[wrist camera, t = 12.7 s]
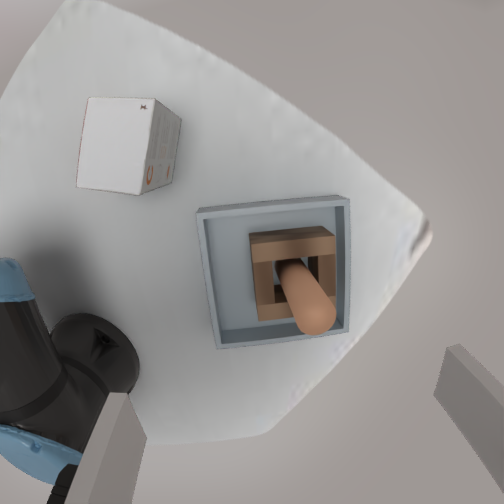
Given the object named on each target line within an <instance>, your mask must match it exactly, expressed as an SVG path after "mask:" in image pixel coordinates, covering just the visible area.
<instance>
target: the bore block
mask: <svg viewBox="0 0 504 504" xmlns="http://www.w3.org/2000/svg"><path fill="white" fill-rule="evenodd" d="M249 242H250V253H251V263H252V273H253V283H254V293H255V302H256V309H257V315H258V321H267V320H276V319H284V318H292V317H294V316H293V313H292V311H291V308H290V306H289V303H288V301H287V298H286V296H285V293H284V291H283V288H282V286H281V284H278V285H274V282H273V268H272V261H274V260H284V259H293V258H302V257H308V269H309V271H310V272H311V274H312V275H313V276H314V278H315V279H316V281H317V282H318V284H319V285H320V286H321V288H322V289H323V291H324V292H325V294H326V295H327V297H328V298H329V299H330V301H331V302H332V304H333V305H334V307H335V309H336V241H335V235H334V234H332V233H331V232H330V231H328V230H327V229H326V228H324V227H323V226H312V227H302V228H292V229H282V230H272V231H262V232H252V233H249Z"/></svg>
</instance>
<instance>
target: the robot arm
mask: <svg viewBox="0 0 504 504" xmlns="http://www.w3.org/2000/svg"><path fill="white" fill-rule="evenodd" d="M138 375H139V361H138V357H137V354H136V352H135V349H134V348H133V346H132V344H131V343H130V341H129V340H128V339H127V337H126V336H125V335H124V334H123V333H122V332H121V331H120V330H119V329H117V328H116V327H115V326H114V325H112V324H111V323H109V322H107V321H106V320H104V319H102V318H99V317H97V316H94V315H90V314H72V315H69V316H67V317H65V318H63V319H62V320H61V321H60V322H59V323H58V324H57V325H56V326H55V327H54V328H53V330H52V331H51V333H50V335H49V332H48V330H47V328H46V326H45V323H44V321H43V319H42V316H41V314H40V312H39V309H38V307H37V304H36V301H35V295H34V293H33V292H32V291H31V289H30V287H29V284H28V282H27V279H26V277H25V275H24V272H23V270H22V267H21V266H20V264H19V263H18V262H17V261H15V260H14V259H11V258H0V454H1V455H2V456H3V457H4V458H5V459H6V460H8V461H9V462H10V463H11V464H13V465H14V466H15V467H17V468H18V469H20V470H22V471H23V472H25V473H26V474H28V475H30V476H32V477H34V478H36V479H38V480H40V481H43V482H46V483H48V484H52V485H55V486H54V487H53V489H52V491H51V493H52V494H51V495H50V496H49V499H48V501H47V504H132V499H133V494H134V490H135V485H136V481H137V476H138V472H139V468H140V464H141V459H142V456H143V452H144V447H145V443H146V439H147V437H146V435H145V433H144V431H143V429H142V426H141V424H140V422H139V420H138V418H137V415H136V413H135V411H134V409H133V406H132V404H131V402H130V399H129V397H128V394H129V393H130V392H131V391H132V389H133V388H134V386H135V383H136V380H137V378H138ZM434 396H435V398H436V399H437V400H438V402H439V403H440V404H441V406H442V407H443V408H444V410H445V411H446V412H447V414H448V415H449V416H450V418H451V419H452V420H453V422H454V423H455V424H456V426H457V427H458V429H459V430H460V431H461V433H462V434H463V435H464V437H465V438H466V440H467V441H468V442H469V444H470V445H471V446H472V448H473V449H474V451H475V452H476V454H477V455H478V457H479V458H480V459H481V461H482V462H483V464H484V465H485V467H486V468H487V470H488V471H489V473H490V474H491V475H492V477H493V478H494V480H495V481H496V483H497V484H498V486H499V487H500V489H501V490H502V492H503V493H504V386H503V385H502V384H501V383H500V382H499V381H498V380H497V379H496V378H495V377H494V376H493V375H492V374H491V373H490V372H489V371H488V370H487V369H486V368H485V367H484V366H483V365H482V364H481V363H479V362H478V361H477V360H476V359H475V358H474V357H473V356H472V355H471V354H470V353H469V352H468V351H467V350H466V349H465V348H464V347H463V346H461V345H460V344H457V345H454V346H450V347H447V348H446V352H445V356H444V360H443V364H442V368H441V371H440V375H439V378H438V382H437V385H436V389H435V391H434Z"/></svg>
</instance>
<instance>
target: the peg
mask: <svg viewBox="0 0 504 504" xmlns="http://www.w3.org/2000/svg"><path fill="white" fill-rule="evenodd" d="M274 267H275V271H276V274H277V276H278V279H279V281H280V283H281V286H282V288H283V291H284V293H285V296H286V298H287V301H288V303H289V306H290V308H291V311H292V313H293V316H294V318H295V321H296V323H297V326H298V328H299V329H300V330H301V331H302V332H303V333H305V334H307V335H320V334H322V333H324V332H326V331H328V330H329V329H330V328H331V327H332V325H333V324H334V322H335V320H336V309H335V307H334V305H333V304H332V302H331V301H330V299H329V298H328V297H327V295H326V294H325V292H324V291H323V289H322V288H321V286H320V285H319V284H318V282H317V281H316V279H315V278H314V276H313V275H312V274H311V272H310V271H309V269H308V268H307V267H306V265H305V264H304V262H303V261H302V260H301V258H293V259H284V260H276V261H275V265H274Z"/></svg>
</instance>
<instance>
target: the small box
mask: <svg viewBox="0 0 504 504" xmlns="http://www.w3.org/2000/svg"><path fill="white" fill-rule="evenodd" d="M180 125H181V118H179V117H178V116H177V115H176V114H175V113H173V112H172V111H171V110H169V109H168V108H167V107H165V106H164V105H163V104H161V103H160V102H159V101H158V100H156V99H155V98H119V97H89V98H88V101H87V107H86V112H85V118H84V124H83V130H82V137H81V144H80V151H79V160H78V170H77V180H76V187H77V188H83V189H92V190H100V191H107V192H115V193H122V194H129V195H137V196H140V195H142V194H144V193H146V192H149V191H152V190H154V189H157V188H160V187H162V186H165V185H168V184H170V183H172V176H173V170H174V163H175V157H176V150H177V144H178V138H179V131H180Z"/></svg>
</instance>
